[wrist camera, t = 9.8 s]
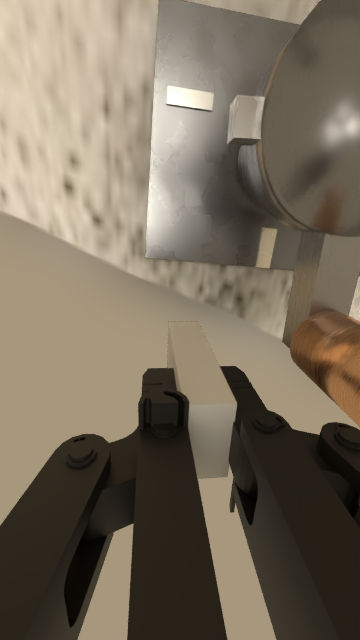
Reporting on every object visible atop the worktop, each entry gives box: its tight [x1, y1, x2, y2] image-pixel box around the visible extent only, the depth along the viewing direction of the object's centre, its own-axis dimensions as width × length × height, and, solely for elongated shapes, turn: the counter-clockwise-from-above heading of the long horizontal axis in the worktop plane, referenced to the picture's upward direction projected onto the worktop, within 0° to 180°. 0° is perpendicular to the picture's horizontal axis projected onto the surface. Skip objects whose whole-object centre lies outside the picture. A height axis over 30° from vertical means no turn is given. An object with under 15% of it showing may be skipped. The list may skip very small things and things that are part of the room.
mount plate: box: [145, 0, 360, 276], centre depth 19 cm, size 20×16×8 cm
